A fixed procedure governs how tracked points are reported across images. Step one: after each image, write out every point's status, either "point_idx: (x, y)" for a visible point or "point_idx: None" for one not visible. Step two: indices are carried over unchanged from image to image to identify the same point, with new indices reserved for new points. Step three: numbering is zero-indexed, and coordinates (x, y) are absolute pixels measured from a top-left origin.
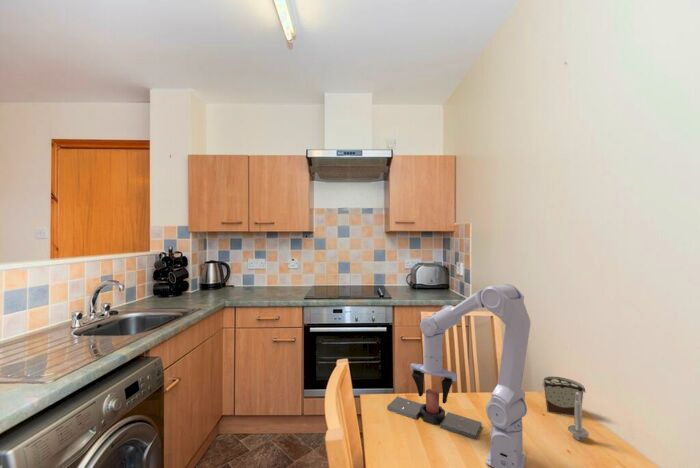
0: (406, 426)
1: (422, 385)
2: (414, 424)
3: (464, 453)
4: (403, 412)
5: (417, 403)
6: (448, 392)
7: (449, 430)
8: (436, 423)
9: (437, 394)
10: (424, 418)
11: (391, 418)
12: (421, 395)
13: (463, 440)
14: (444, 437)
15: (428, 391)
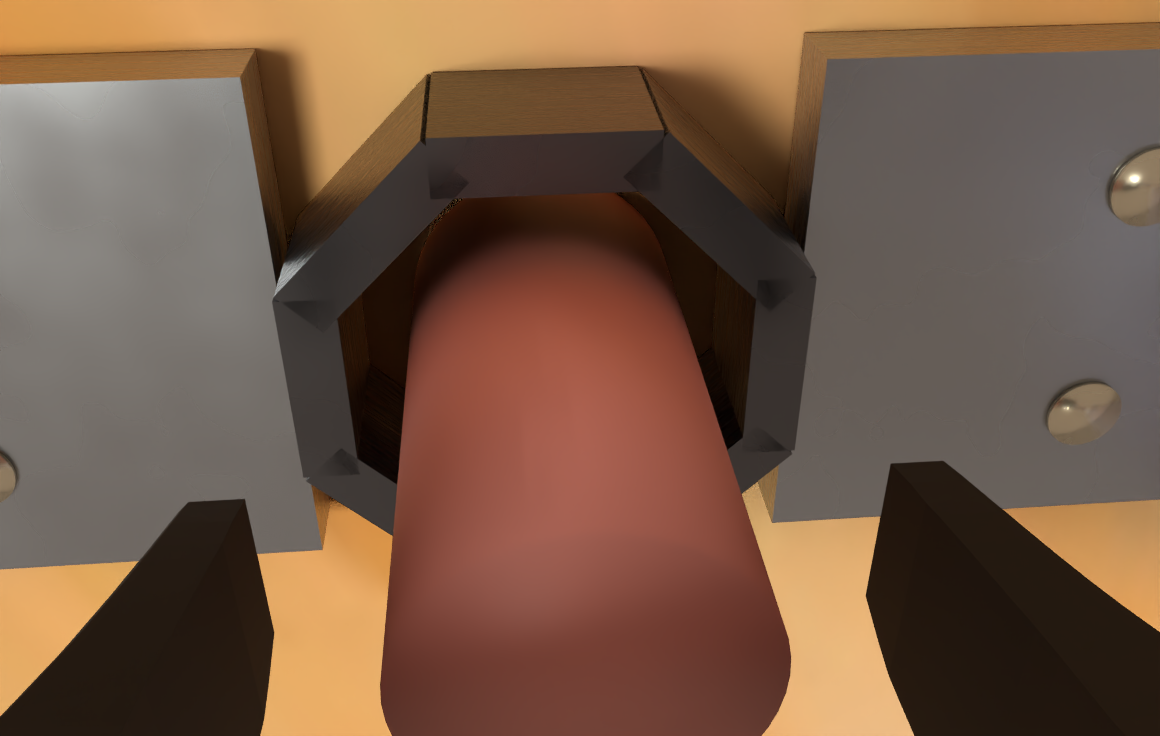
0: (313, 705)
1: (170, 719)
2: (380, 615)
3: None
4: (67, 553)
5: (57, 130)
6: (1109, 606)
7: None
8: None
9: (764, 727)
10: None
11: (7, 680)
12: (264, 604)
13: (1106, 548)
14: (856, 626)
15: (470, 728)
